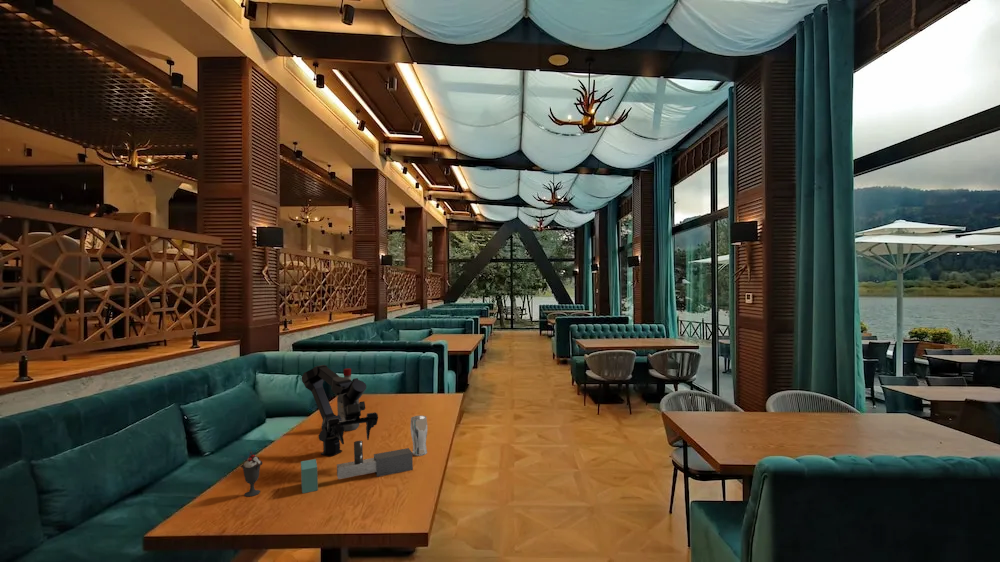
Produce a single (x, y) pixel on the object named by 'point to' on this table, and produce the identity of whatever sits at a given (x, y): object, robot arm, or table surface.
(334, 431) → the robot arm
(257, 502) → the table surface
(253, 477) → the sundae
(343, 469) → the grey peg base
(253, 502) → the table surface
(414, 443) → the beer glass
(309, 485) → the socket block
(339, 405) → the liquor
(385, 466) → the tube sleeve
